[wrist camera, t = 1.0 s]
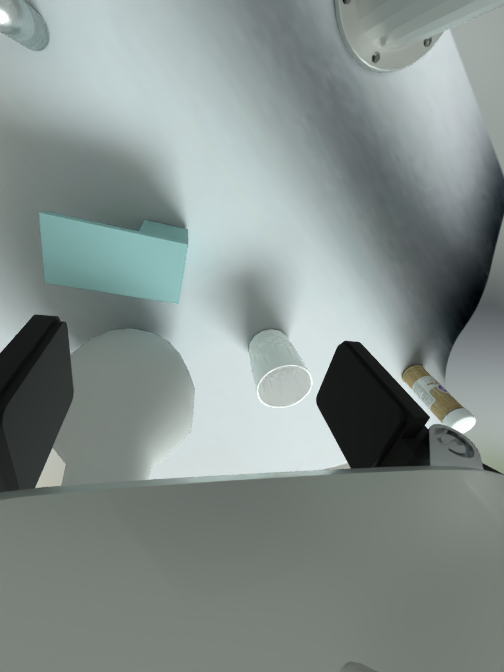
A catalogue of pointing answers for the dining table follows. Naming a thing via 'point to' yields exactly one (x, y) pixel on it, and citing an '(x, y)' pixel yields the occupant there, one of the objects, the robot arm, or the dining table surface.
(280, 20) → the dining table surface
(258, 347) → the white cup
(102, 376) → the vase
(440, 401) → the sprinkles bottle
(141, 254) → the keeper
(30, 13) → the post
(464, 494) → the robot arm
